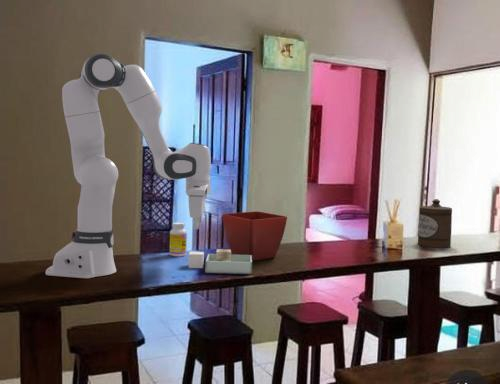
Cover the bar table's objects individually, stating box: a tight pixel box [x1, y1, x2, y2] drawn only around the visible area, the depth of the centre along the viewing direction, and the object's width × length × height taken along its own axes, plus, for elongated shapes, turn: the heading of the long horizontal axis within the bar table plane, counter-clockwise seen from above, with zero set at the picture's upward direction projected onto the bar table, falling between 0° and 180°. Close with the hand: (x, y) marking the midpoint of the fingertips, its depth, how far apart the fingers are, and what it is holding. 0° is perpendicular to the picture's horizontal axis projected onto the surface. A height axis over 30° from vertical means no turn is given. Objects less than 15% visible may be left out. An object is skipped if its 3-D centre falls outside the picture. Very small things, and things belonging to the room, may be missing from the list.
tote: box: [204, 253, 253, 275], centre depth 188 cm, size 16×13×4 cm
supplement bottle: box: [169, 222, 188, 257], centre depth 209 cm, size 7×7×13 cm
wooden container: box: [417, 198, 453, 249], centre depth 251 cm, size 15×15×22 cm
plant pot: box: [222, 210, 288, 262], centre depth 210 cm, size 19×19×17 cm
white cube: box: [188, 251, 205, 269], centre depth 191 cm, size 5×5×5 cm
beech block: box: [215, 248, 232, 262], centre depth 188 cm, size 5×5×6 cm
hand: (197, 227), depth 190 cm, fingers open, 8 cm apart
